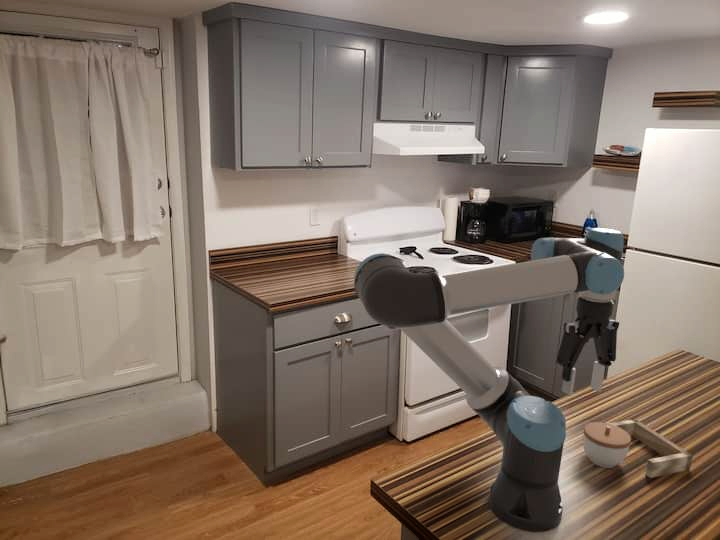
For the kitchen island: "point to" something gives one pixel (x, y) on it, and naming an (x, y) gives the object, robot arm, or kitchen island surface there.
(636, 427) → the birch dock
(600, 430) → the lidded jar
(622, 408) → the kitchen island surface
